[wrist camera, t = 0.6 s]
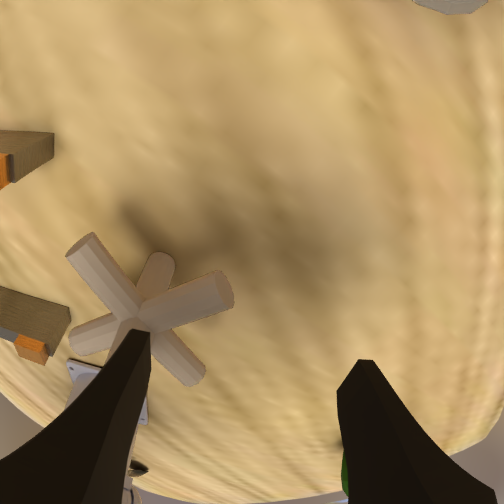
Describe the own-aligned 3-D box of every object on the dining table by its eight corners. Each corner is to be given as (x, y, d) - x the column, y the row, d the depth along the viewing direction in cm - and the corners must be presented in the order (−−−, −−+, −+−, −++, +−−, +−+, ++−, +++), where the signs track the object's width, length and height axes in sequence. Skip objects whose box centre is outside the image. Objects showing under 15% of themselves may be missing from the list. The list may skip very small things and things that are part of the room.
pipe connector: (63, 233, 19) (-20, 344, 10) (187, 158, 16) (121, 273, 8) (147, 335, 24) (116, 452, 15) (267, 293, 21) (274, 435, 13)
